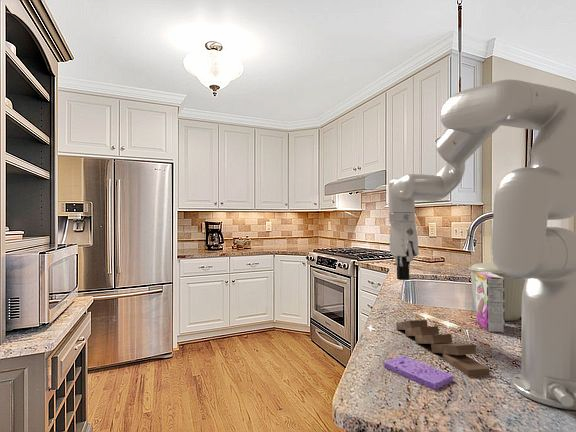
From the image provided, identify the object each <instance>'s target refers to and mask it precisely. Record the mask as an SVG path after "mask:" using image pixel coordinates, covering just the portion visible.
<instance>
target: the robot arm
mask: <svg viewBox="0 0 576 432" xmlns="http://www.w3.org/2000/svg"><path fill="white" fill-rule="evenodd" d="M440 122H441V125H442V126H443V127H444V128H446V131H445V133H443V135H442V136H441V137H440V138H439V139H438V141H437V143H436V151H437V153H438V155H439V156H440V157H441V158H442V159H443V160H444V161H445V162H446V163H445V165H444V166H443V167H442V169H441V170H440V171H438V173H436V174H435V175H434V174H417V173H411V174H406V175H404V176H401V177H400V178H394V179H391V180H390V181H389V182H388V221H389V223H388V224H389V225H390V227H389V228H390V230H389V253H390V255H392V258H393V259H394V260H395V266H396V279H397V280H399V281H409V280H410V266H411V262H412V261H414V257H418V256H419V238H418V231H417V225H416V211H415V210H416V209H415V208H416V206H415V205H416V204H415V201H418V202H419V201H420V202H421V201H423V202H425V201H426V202H428V201H429V202H438V201H441V200H443V199H444V198H446V197H447V196H449V195H450V194H451V193H452V192H453V190H455V189H456V188H457V187H458V185H460V183H461V182H462V180H463V178H464V174H465V169H466V162H467V161H468V160H469V159H470V158H471V156H472V155H473V154H474V153H475V152H476V151H477V150H478V149H479V148H480V147H481V146H482V145H483V144H484V143H485V142H486V141H487V140H488V139H489V138H490V137H491V136H492V135H493V134H494V133H495V132H496V131H497V130H498V129H499V128H500V127H501V126H504V127H511V128H517V129H519V128H520V129H526V130H533V131H538V133H537V135H536V137H535V138H534V141H533V143H532V147H531V150H530V165H529V166H527V167H526V166H525V167H521V168H516V169H514V170H512V171H510V172H509V173H507V174H506V175H505V176H504V177H502V179H501V180H500V182H499V183H498V185H497V188H496V190H495V193H494V198H493V199H494V201H493V213H492V214H493V215H492V230H491V231H492V232H491V255H492V258H493V259H494V262H495V264H496V266H497V268H498V269H499V270H500V271H501V272H502V273H503V274H505V275H507V276H508V277H511V278H515V279H526V281H525V284H524V287H523V292H522V314H521V373H518V374H516V375H514V376H512V379H511V384H512V387H513V388H514V389H515V390H516V392H518V393H519V394H520V395H522V396H524V397H526V398H529V399H530V400H532V401H536V402H537V403H540V404H543V405H546V406H550V407H554V408H559V409H563V410H570V411H576V232H575V231H573V230H571V229H568V228H565V227H558V226H548V221H552V220H553V221H554V220H555V221H556V220H557V221H558V220H559V221H560V220H565V219H566V220H567V219H571V218H573V217H574V216H576V93H575V92H572V91H569V90H567V89H566V90H565V89H561V88H557V87H553V86H547V85H544V84H539V83H533V82H530V81H529V82H528V81H523V80H519V79H502V80H497V81H493V82H490V83H486V84H483V85H478V86H475V87H471V88H466V89H464V90H461V91H459V92H456V93H454V94H453V95H452V96H451V97H449V98H448V99H447V100H446V102H445V103H444V105H443V106H442V108H441V112H440Z"/></svg>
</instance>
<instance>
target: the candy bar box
mask: <svg viewBox="0 0 576 432" xmlns="http://www.w3.org/2000/svg"><path fill="white" fill-rule="evenodd" d="M475 322H476V323H477V324H479V325H480V326H481V327H482V328H483V329H484V330H485V331H487V332H488V333H489V332H490V333H502V334H505V333H506V331H505V330H506V329H505V319H504V278H503V277H500V276H498V275H496V274H493V273H491V272H476V309H475Z"/></svg>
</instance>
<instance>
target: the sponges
mask: <svg viewBox="0 0 576 432" xmlns="http://www.w3.org/2000/svg"><path fill="white" fill-rule="evenodd" d="M383 368H384V369H386V370H388V371H390V372H393V373H396V374H398V375H400V376H402V377H404V378H407V379H409V380H412V381H413V380H414V381H413V382H415V381H416V382H415V383H418V384H420V383H421V384H420V385H422V384H423V385H422V386H424V385H425V387H426V386H427V388H429V389H431V390H439V389H440V388H442V387H444V386H445V385H447V383H448V384H449V382H450V383H452V382H454V375H453V374H451V373H450V372H449V373H448V372H447V371H443V370H441V369H438V368H436V367H432V366H430V365H428V364H426V363H423V362H421V361H419V360H416V359H414V358H411V357H409V356H407V355H404V354H402V355H399V356H397V357H396V358H391V359H389V360H386V361H383ZM451 381H452V382H451ZM443 385H444V386H443ZM441 386H442V387H441ZM439 387H440V388H439Z"/></svg>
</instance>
